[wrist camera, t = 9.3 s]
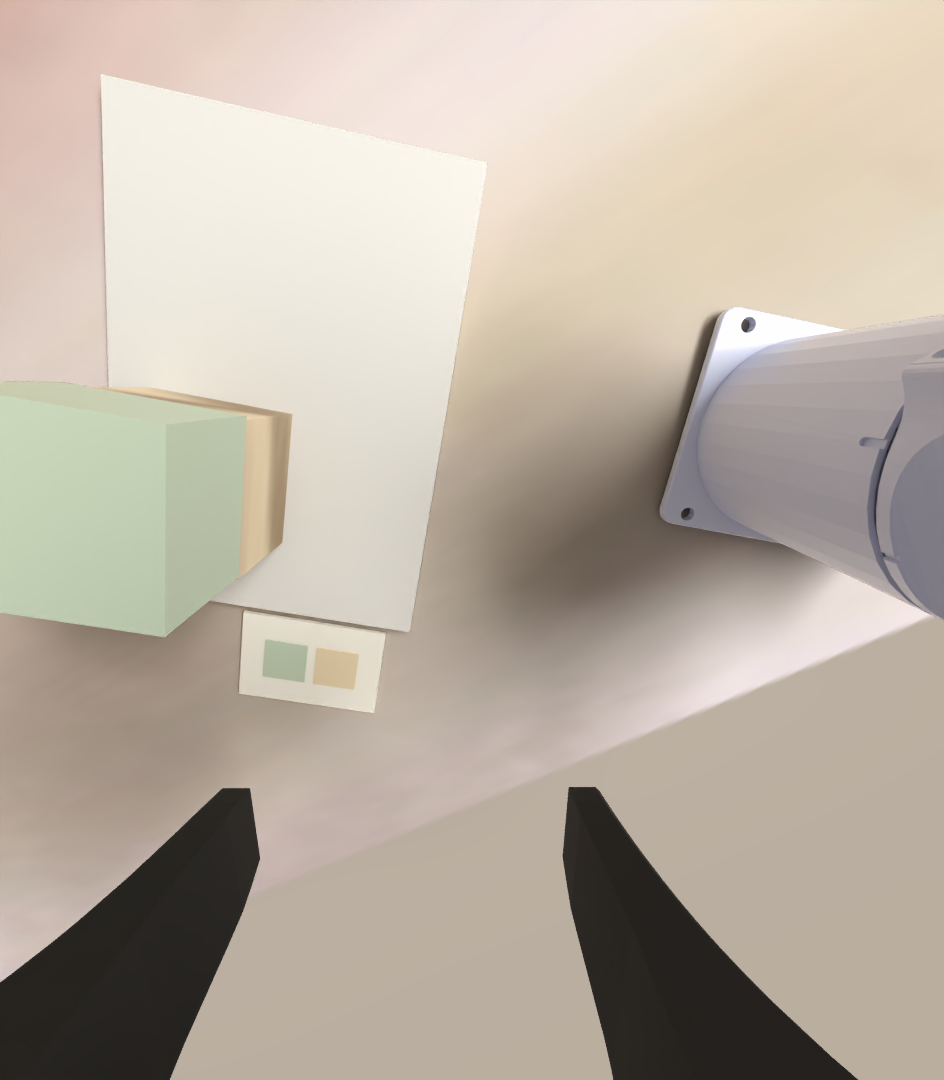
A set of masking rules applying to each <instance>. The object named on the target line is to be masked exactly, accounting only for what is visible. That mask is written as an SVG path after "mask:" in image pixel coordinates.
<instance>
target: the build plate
mask: <svg viewBox="0 0 944 1080" xmlns="http://www.w3.org/2000/svg"><path fill="white" fill-rule="evenodd" d="M101 101H102V142H103V182H104V223H105V263H106V304H107V345H108V385H109V387H142V388H156V389H162V390H167V391H172V392H178V393H183V394H188V395H194V396H199V397H204V398H210V399H215V400H220V401H226V402H231V403H237V404H242V405H247V406H253V407H258V408H263V409H269V410H274V411H279V412H285V413H290V414H292V427H291V440H290V452H289V465H288V478H287V490H286V503H285V515H284V528H283V541H282V543H281V544H280V545H279V546H278V547H277V548H275V549H274V550H273V551H272V552H271V553H269V554H268V555H267V556H266V557H265V558H263V559H262V560H261V561H260V562H259V563H257V564H256V565H255V566H254V567H253V568H251V569H250V570H249V571H248V572H247V573H245V574H244V575H243V576H242V577H241V578H239V579H238V580H234V581H233V582H231V583H230V584H229V585H228V586H226V587H225V588H224V589H223V590H222V591H220V592H219V593H218V594H217V595H216V596H214V597H213V598H212V599H211V600H209V601H215V602H221V603H227V604H233V605H240V606H246V607H252V608H259V609H265V610H271V611H278V612H284V613H290V614H297V615H303V616H309V617H316V618H322V619H328V620H335V621H341V622H347V623H354V624H360V625H366V626H373V627H379V628H385V629H392V630H398V631H404V632H410V628H411V622H412V616H413V610H414V604H415V598H416V592H417V586H418V580H419V574H420V568H421V562H422V556H423V550H424V544H425V538H426V532H427V526H428V520H429V514H430V508H431V502H432V496H433V490H434V484H435V478H436V472H437V466H438V460H439V454H440V448H441V442H442V436H443V430H444V424H445V418H446V412H447V406H448V400H449V394H450V388H451V382H452V376H453V370H454V364H455V358H456V352H457V346H458V340H459V333H460V327H461V321H462V315H463V309H464V303H465V297H466V291H467V285H468V279H469V273H470V267H471V261H472V255H473V249H474V243H475V237H476V231H477V225H478V219H479V213H480V207H481V201H482V195H483V189H484V183H485V177H486V171H487V163H486V162H482V161H478V160H473V159H469V158H465V157H460V156H456V155H451V154H447V153H443V152H438V151H434V150H430V149H425V148H421V147H417V146H412V145H408V144H404V143H399V142H395V141H390V140H386V139H382V138H377V137H373V136H369V135H364V134H360V133H356V132H351V131H347V130H343V129H338V128H334V127H329V126H325V125H321V124H316V123H312V122H308V121H303V120H299V119H295V118H290V117H286V116H282V115H277V114H273V113H268V112H264V111H260V110H255V109H251V108H247V107H242V106H238V105H234V104H229V103H225V102H221V101H216V100H212V99H207V98H203V97H199V96H194V95H190V94H186V93H181V92H177V91H173V90H168V89H164V88H160V87H155V86H151V85H146V84H142V83H138V82H133V81H129V80H125V79H120V78H116V77H112V76H107V75H103V74H101Z"/></svg>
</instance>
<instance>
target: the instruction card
mask: <svg viewBox="0 0 944 1080" xmlns="http://www.w3.org/2000/svg"><path fill="white" fill-rule="evenodd" d="M385 638H386V632H380V631H374V630H367V629H361V628H355V627H348V626H342V625H336V624H329V623H323V622H317V621H310V620H304V619H298V618H291V617H285V616H279V615H272V614H266V613H260V612H253V611H247V610H245V611H244V612H243V628H242V645H241V662H240V680H239V694H245V695H252V696H259V697H266V698H272V699H279V700H286V701H293V702H300V703H307V704H314V705H321V706H327V707H334V708H341V709H348V710H355V711H362V712H369V713H374V710H375V704H376V697H377V691H378V684H379V677H380V671H381V664H382V657H383V651H384V644H385Z"/></svg>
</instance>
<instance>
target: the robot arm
mask: <svg viewBox="0 0 944 1080" xmlns="http://www.w3.org/2000/svg"><path fill="white" fill-rule="evenodd" d="M743 319H747V320H748V321H749V323H750V325H749V329H748V331H747V332H746V333H745V332H744V331H742V329H741V323H742V321H743ZM685 508H689V509H690V513H689V515H688V516H687V517H685V518H682V517H681V512H682V511H683V510H684V509H685ZM659 513H660V516H661V518H662V519H663V520H665V521H666V522H668V523H671V524H675V525H681V526H687V527H692V528H698V529H703V530H709V531H714V532H720V533H725V534H731V535H736V536H742V537H747V538H753V539H758V540H764V541H769V542H775V543H780V544H783V545H785V546H788V547H790V548H792V549H794V550H796V551H798V552H800V553H802V554H804V555H807V556H809V557H811V558H813V559H815V560H817V561H819V562H821V563H823V564H825V565H828V566H830V567H832V568H834V569H836V570H838V571H840V572H842V573H844V574H847V575H849V576H851V577H853V578H855V579H857V580H859V581H861V582H863V583H865V584H868V585H870V586H872V587H874V588H876V589H878V590H880V591H882V592H884V593H887V594H889V595H891V596H893V597H895V598H897V599H899V600H901V601H903V602H906V603H908V604H910V605H912V606H914V607H916V608H918V609H920V610H922V611H924V612H927V613H929V614H931V615H933V616H935V617H937V618H939V619H941V620H944V314H943V315H936V316H930V317H924V318H918V319H912V320H906V321H899V322H893V323H887V324H881V325H875V326H868V327H862V328H856V329H850V330H844V329H839V328H835V327H830V326H825V325H821V324H816V323H811V322H807V321H802V320H798V319H793V318H788V317H784V316H779V315H774V314H770V313H765V312H761V311H756V310H751V309H747V308H742V307H732V308H729V309H726V310H724V311H723V312H722V313H721V314H720V315H719V317H718V319H717V321H716V324H715V328H714V331H713V334H712V338H711V341H710V344H709V348H708V351H707V354H706V357H705V361H704V364H703V367H702V371H701V374H700V377H699V380H698V384H697V387H696V390H695V394H694V397H693V400H692V404H691V407H690V410H689V413H688V417H687V420H686V423H685V427H684V430H683V433H682V436H681V440H680V443H679V446H678V450H677V453H676V456H675V460H674V463H673V466H672V469H671V473H670V476H669V479H668V483H667V486H666V489H665V493H664V496H663V499H662V502H661V506H660V512H659ZM259 860H260V855H259V848H258V841H257V834H256V827H255V820H254V813H253V806H252V800H251V793H250V788H223V789H221V790H220V791H219V792H218V793H217V794H216V795H215V796H214V797H213V798H212V799H211V800H210V801H209V802H208V803H206V804H205V805H204V806H203V807H202V808H201V809H200V810H199V811H198V812H197V813H196V814H195V815H194V816H193V817H192V818H191V819H190V820H189V821H188V822H187V823H186V824H185V825H184V826H182V827H181V828H180V829H179V830H178V831H177V832H176V833H175V834H174V835H173V836H172V837H171V838H170V839H169V840H168V841H167V842H166V843H165V844H164V845H163V846H161V847H160V848H159V849H158V850H157V851H156V852H155V853H154V854H153V855H152V856H151V857H150V858H149V859H147V860H146V861H145V862H144V863H143V864H142V865H141V866H140V867H139V868H138V869H137V870H136V871H135V872H133V873H132V874H131V875H130V876H129V877H128V878H127V879H126V880H125V881H124V882H122V883H121V884H120V885H119V886H118V887H117V888H116V889H115V890H113V891H112V892H111V893H110V894H109V895H108V896H106V897H105V898H104V899H103V900H102V901H101V902H100V903H98V904H97V905H96V906H95V907H94V908H93V909H92V910H90V911H89V912H88V913H87V914H86V915H85V916H83V917H82V918H81V919H80V920H79V921H78V922H76V923H75V924H74V925H73V926H72V927H70V928H69V929H68V930H67V931H66V932H64V933H63V934H62V935H61V936H59V937H58V938H57V939H56V940H54V941H53V942H52V943H51V944H50V945H48V946H47V947H46V948H44V949H43V950H42V951H41V952H39V953H38V954H37V955H35V956H34V957H33V958H32V959H30V960H29V961H28V962H26V963H25V964H24V965H23V966H21V967H20V968H19V969H17V970H16V971H15V972H14V973H12V974H11V975H10V976H8V977H7V978H6V979H4V980H3V981H2V982H0V1080H170V1078H171V1075H172V1073H173V1070H174V1067H175V1065H176V1063H177V1060H178V1058H179V1055H180V1053H181V1050H182V1048H183V1046H184V1043H185V1041H186V1039H187V1036H188V1034H189V1032H190V1030H191V1027H192V1025H193V1023H194V1021H195V1018H196V1016H197V1014H198V1012H199V1009H200V1007H201V1005H202V1003H203V1001H204V998H205V996H206V994H207V992H208V989H209V987H210V985H211V983H212V981H213V978H214V976H215V974H216V971H217V969H218V967H219V965H220V963H221V960H222V958H223V956H224V954H225V951H226V949H227V947H228V945H229V942H230V940H231V938H232V935H233V933H234V931H235V928H236V926H237V924H238V921H239V919H240V917H241V915H242V912H243V909H244V907H245V904H246V901H247V898H248V895H249V892H250V889H251V886H252V883H253V880H254V876H255V873H256V870H257V867H258V864H259ZM563 861H564V868H565V875H566V881H567V888H568V893H569V900H570V906H571V910H572V915H573V919H574V923H575V927H576V931H577V934H578V938H579V942H580V946H581V950H582V954H583V958H584V961H585V965H586V969H587V973H588V977H589V981H590V985H591V988H592V992H593V996H594V1000H595V1004H596V1007H597V1011H598V1015H599V1019H600V1023H601V1027H602V1030H603V1034H604V1038H605V1043H606V1047H607V1052H608V1056H609V1061H610V1065H611V1069H612V1075H613V1080H858V1079H856V1078H855V1077H854V1076H853V1075H852V1074H851V1073H850V1072H848V1071H847V1070H846V1069H845V1068H844V1067H843V1066H841V1065H840V1064H839V1063H838V1062H837V1061H836V1060H835V1059H833V1058H832V1057H831V1056H830V1055H829V1054H828V1053H827V1052H825V1050H823V1048H822V1047H820V1046H819V1045H818V1044H817V1043H816V1042H815V1041H814V1040H813V1039H812V1038H811V1037H810V1036H809V1035H808V1034H806V1033H805V1032H804V1031H803V1030H802V1029H801V1028H800V1027H799V1026H798V1025H797V1024H796V1023H795V1022H794V1021H793V1020H791V1019H790V1018H789V1017H788V1016H787V1015H786V1014H785V1013H784V1012H783V1011H782V1010H781V1009H779V1007H778V1006H776V1005H775V1004H774V1003H773V1002H772V1001H771V1000H770V999H769V998H768V997H767V996H766V995H765V994H764V993H763V992H762V991H761V990H760V989H759V988H758V987H757V986H756V985H755V984H754V983H753V982H752V981H751V980H750V979H749V978H748V977H747V976H746V975H745V973H743V971H741V969H740V968H739V967H738V966H737V965H736V964H735V963H734V962H733V961H732V960H731V959H730V958H729V957H728V956H727V955H726V953H725V952H724V951H723V950H722V949H721V948H720V947H719V946H718V945H717V944H716V943H715V941H714V940H713V939H712V938H711V937H710V936H709V935H708V934H707V933H706V931H705V930H704V929H703V928H702V927H701V926H700V925H699V923H698V922H697V921H696V920H695V919H694V918H693V916H692V915H691V914H690V913H689V912H688V910H687V909H686V908H685V907H684V906H683V905H682V903H681V902H680V901H679V900H678V898H677V897H676V896H675V895H674V894H673V892H672V891H671V890H670V889H669V887H668V886H667V885H666V884H665V882H664V881H663V880H662V879H661V877H660V876H659V875H658V873H657V872H656V871H655V869H654V868H653V867H652V865H651V864H650V863H649V861H648V860H647V859H646V858H645V856H644V855H643V854H642V852H641V851H640V850H639V848H638V847H637V845H636V844H635V843H634V841H633V840H632V838H631V837H630V836H629V834H628V833H627V831H626V830H625V829H624V827H623V826H622V824H621V823H620V822H619V820H618V818H617V817H616V816H615V814H614V812H613V811H612V810H611V808H610V807H609V805H608V803H607V802H606V801H605V799H604V797H603V796H602V794H601V793H600V791H599V790H598V789H597V788H596V787H569V792H568V803H567V814H566V825H565V836H564V848H563Z"/></svg>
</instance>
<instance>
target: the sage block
mask: <svg viewBox="0 0 944 1080" xmlns="http://www.w3.org/2000/svg"><path fill="white" fill-rule="evenodd" d="M246 421H247V416H246V415H240V414H235V413H229V412H224V411H218V410H213V409H207V408H202V407H197V406H191V405H186V404H180V403H175V402H169V401H164V400H158V399H153V398H147V397H142V396H136V395H131V394H125V393H120V392H114V391H109V390H103V389H98V388H92V387H87V386H81V385H76V384H71V383H65V382H24V381H0V613H6V614H12V615H19V616H26V617H32V618H39V619H46V620H52V621H59V622H66V623H72V624H79V625H86V626H93V627H99V628H106V629H113V630H119V631H126V632H133V633H139V634H146V635H153V636H159V637H166V636H167V635H168V634H169V633H171V632H172V631H173V630H174V629H176V628H177V627H178V626H179V625H180V624H182V623H183V622H184V621H185V620H186V619H188V618H189V617H190V616H191V615H192V614H194V613H195V612H196V611H197V610H199V609H200V608H201V607H202V606H203V605H205V604H206V603H207V602H208V601H209V600H211V599H212V598H213V597H214V596H216V595H217V594H218V593H219V592H220V591H222V590H223V589H224V588H225V587H226V586H228V585H229V584H230V583H231V582H233V581H234V580H235V579H236V578H237V577H239V559H240V540H241V520H242V500H243V480H244V460H245V440H246Z"/></svg>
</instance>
